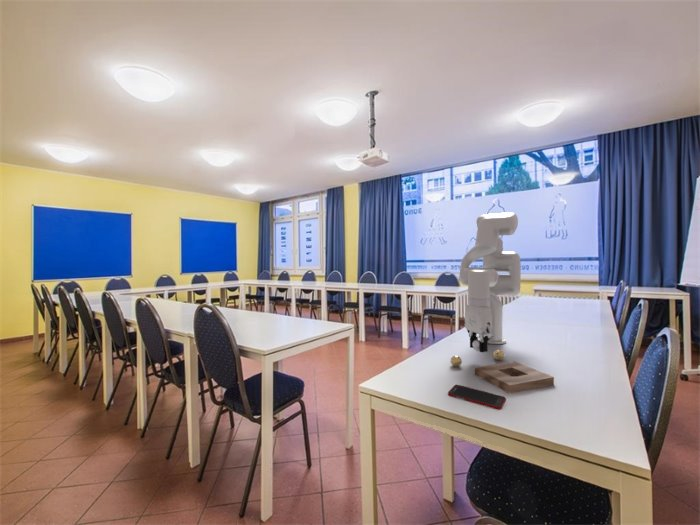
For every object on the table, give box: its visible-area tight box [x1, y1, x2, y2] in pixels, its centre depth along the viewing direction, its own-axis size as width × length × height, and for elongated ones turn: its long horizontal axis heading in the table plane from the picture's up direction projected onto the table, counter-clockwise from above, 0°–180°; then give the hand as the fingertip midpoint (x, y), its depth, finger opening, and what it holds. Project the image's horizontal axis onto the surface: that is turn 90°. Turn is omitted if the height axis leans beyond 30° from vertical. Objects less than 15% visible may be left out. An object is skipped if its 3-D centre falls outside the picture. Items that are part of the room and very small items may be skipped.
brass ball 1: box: [450, 355, 463, 368], centre depth 114 cm, size 4×4×4 cm
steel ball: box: [472, 339, 481, 352], centre depth 118 cm, size 4×4×4 cm
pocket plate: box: [474, 361, 555, 394], centre depth 102 cm, size 15×18×2 cm
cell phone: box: [447, 384, 507, 410], centre depth 90 cm, size 8×15×1 cm, turn 53°
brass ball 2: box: [493, 349, 506, 361], centre depth 121 cm, size 4×4×4 cm
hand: (478, 348), depth 118 cm, fingers closed on steel ball, 4 cm apart
